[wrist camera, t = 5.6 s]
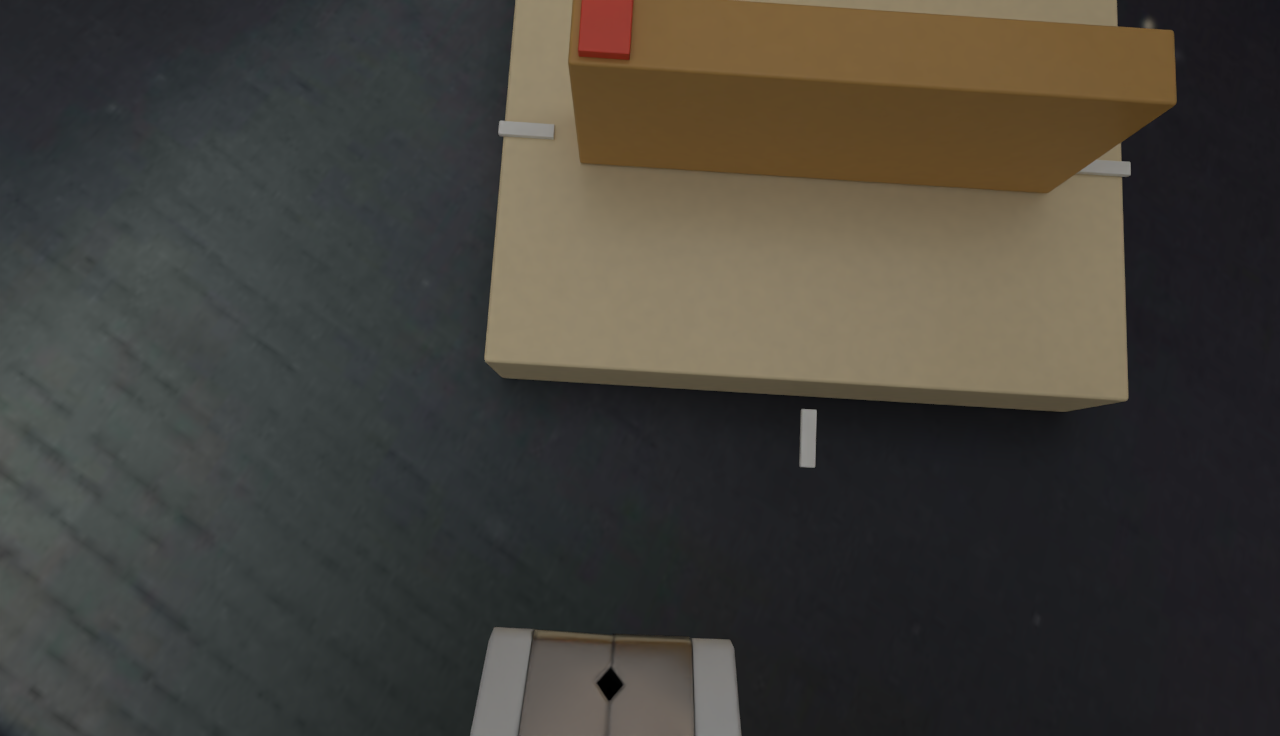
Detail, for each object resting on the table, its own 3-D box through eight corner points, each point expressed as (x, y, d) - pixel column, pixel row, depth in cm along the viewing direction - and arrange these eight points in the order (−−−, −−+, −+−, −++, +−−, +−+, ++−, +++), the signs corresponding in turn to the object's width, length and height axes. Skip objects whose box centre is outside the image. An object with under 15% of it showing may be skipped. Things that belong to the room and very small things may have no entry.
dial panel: (1060, -43, 26) (1122, -117, 22) (1070, 487, 23) (1140, 486, 20) (535, -79, 25) (523, -160, 22) (491, 453, 23) (470, 447, 20)
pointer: (1047, 135, 21) (1184, 22, 16) (1048, 194, 21) (1187, 98, 16) (583, 104, 21) (572, -20, 16) (579, 164, 21) (566, 57, 16)
